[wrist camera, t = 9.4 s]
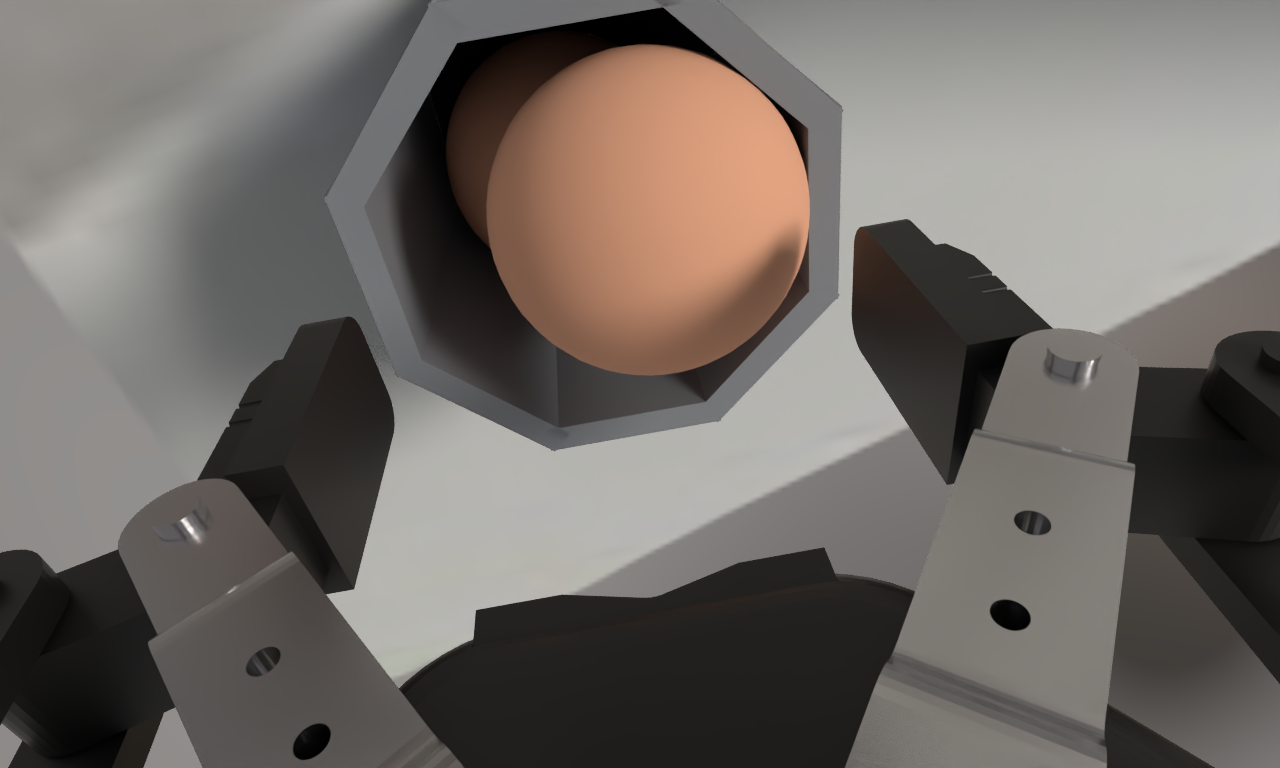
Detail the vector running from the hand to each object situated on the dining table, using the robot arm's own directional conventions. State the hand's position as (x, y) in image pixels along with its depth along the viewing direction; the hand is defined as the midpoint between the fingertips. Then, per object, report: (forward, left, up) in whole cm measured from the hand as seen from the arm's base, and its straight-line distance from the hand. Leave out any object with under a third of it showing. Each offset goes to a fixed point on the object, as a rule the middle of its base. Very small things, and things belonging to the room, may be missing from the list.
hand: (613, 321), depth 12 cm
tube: (0, 0, -12) cm, 12 cm away
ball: (0, +1, -3) cm, 3 cm away
